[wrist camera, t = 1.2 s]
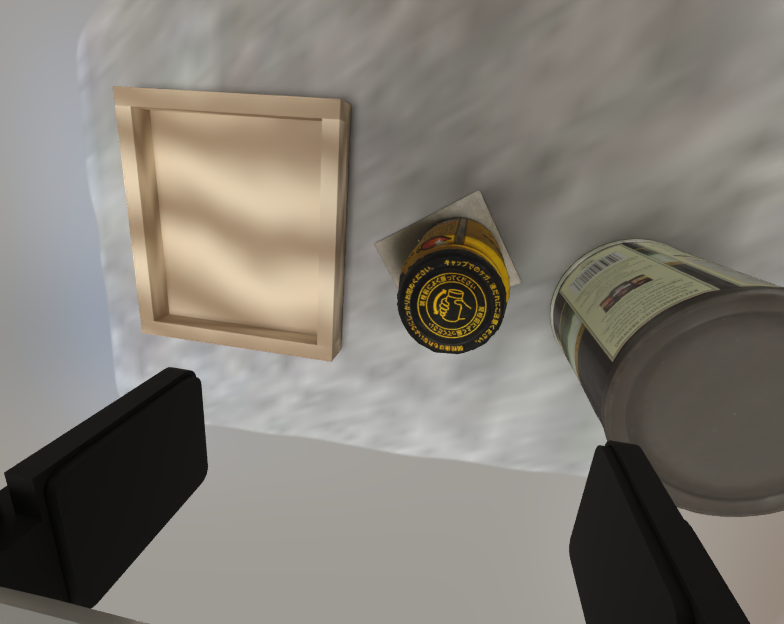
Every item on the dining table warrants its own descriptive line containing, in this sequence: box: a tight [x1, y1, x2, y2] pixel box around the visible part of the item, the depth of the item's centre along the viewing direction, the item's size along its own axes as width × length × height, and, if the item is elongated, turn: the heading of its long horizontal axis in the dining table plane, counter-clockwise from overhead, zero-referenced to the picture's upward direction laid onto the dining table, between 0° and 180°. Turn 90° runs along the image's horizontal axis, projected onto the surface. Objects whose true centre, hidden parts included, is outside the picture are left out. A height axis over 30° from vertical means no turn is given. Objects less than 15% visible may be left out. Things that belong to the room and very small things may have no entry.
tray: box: [113, 86, 351, 362], centre depth 32 cm, size 18×16×2 cm
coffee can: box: [550, 239, 784, 517], centre depth 24 cm, size 10×10×14 cm
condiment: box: [374, 190, 521, 354], centre depth 26 cm, size 7×8×12 cm
